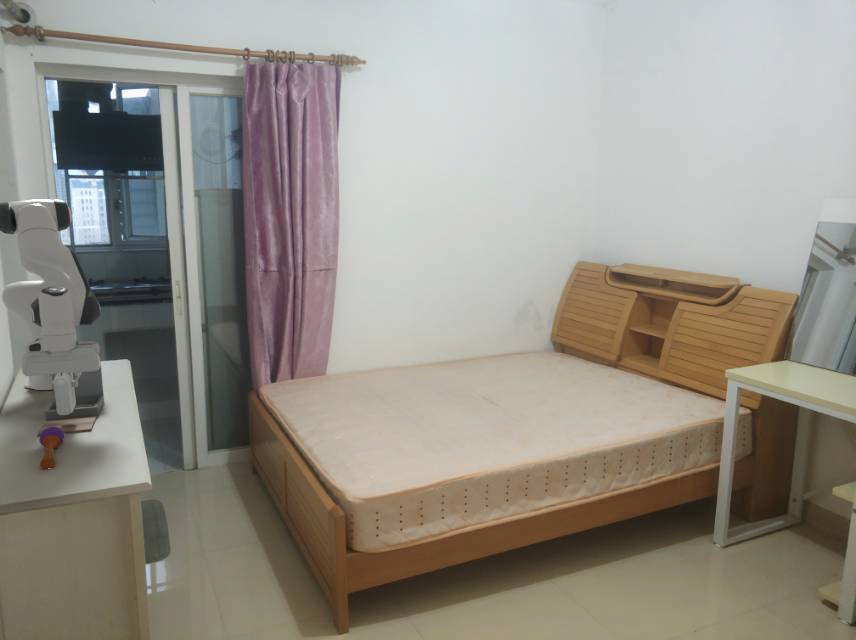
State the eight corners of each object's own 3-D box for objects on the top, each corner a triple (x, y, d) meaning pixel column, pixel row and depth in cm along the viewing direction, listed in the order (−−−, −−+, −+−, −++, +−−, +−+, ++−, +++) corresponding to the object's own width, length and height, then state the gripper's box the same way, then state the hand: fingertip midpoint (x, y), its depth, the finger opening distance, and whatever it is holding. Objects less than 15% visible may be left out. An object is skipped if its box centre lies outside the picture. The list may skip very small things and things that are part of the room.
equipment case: (55, 406, 214) (51, 362, 211) (104, 401, 219) (100, 359, 216) (46, 420, 200) (41, 374, 197) (98, 415, 205) (94, 370, 202)
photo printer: (61, 404, 199) (57, 366, 196) (77, 403, 200) (73, 365, 197) (55, 416, 189) (50, 376, 186) (72, 415, 191) (67, 375, 188)
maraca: (30, 457, 162) (37, 427, 179) (38, 478, 164) (44, 445, 181) (56, 450, 164) (61, 420, 182) (64, 470, 166) (67, 439, 184)
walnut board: (46, 422, 199) (46, 420, 199) (96, 417, 204) (96, 415, 204) (37, 436, 187) (37, 434, 187) (91, 430, 192) (90, 428, 192)
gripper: (100, 338, 197) (104, 381, 199) (23, 342, 190) (28, 387, 193) (97, 342, 191) (101, 387, 194) (18, 347, 184) (23, 393, 187)
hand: (64, 387), depth 193 cm, fingers closed on photo printer, 4 cm apart
